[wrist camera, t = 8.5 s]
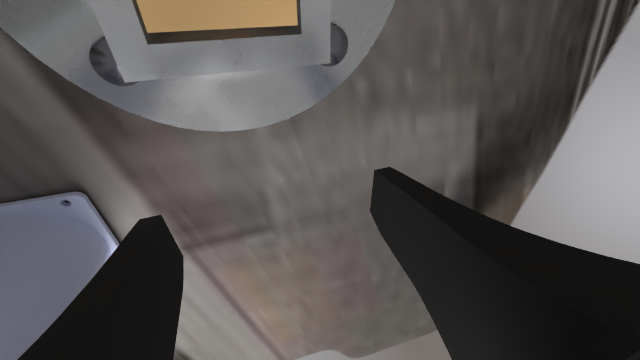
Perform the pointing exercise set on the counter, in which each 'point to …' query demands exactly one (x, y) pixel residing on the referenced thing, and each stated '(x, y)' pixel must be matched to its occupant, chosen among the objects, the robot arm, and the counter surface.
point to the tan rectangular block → (216, 14)
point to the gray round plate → (199, 58)
